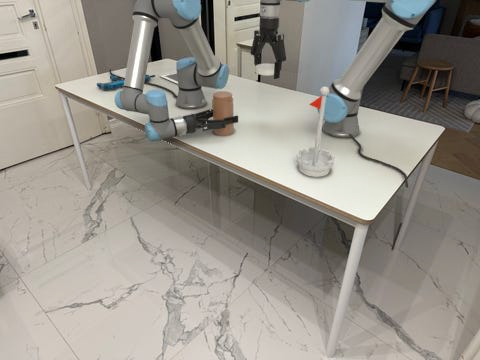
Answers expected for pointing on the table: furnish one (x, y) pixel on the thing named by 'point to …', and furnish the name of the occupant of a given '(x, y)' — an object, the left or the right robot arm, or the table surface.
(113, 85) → the submachine gun
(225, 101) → the jar
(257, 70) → the lid
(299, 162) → the flag stand
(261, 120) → the table surface
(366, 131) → the table surface
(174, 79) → the tablet
